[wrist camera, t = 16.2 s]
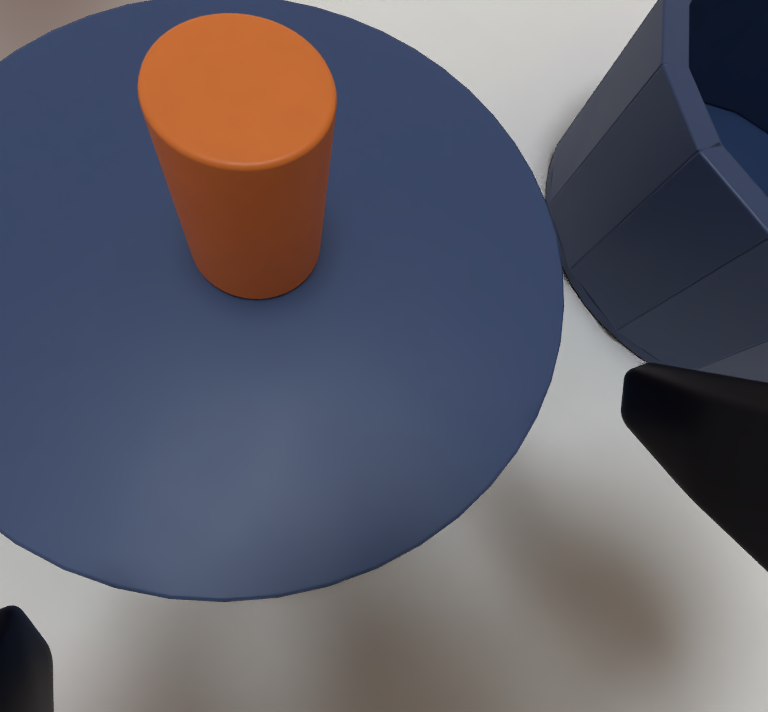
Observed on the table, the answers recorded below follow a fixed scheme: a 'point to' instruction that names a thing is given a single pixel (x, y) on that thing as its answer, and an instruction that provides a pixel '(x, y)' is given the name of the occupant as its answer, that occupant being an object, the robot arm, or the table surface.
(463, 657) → the table surface
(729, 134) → the bin
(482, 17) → the table surface
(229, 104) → the bin lid
